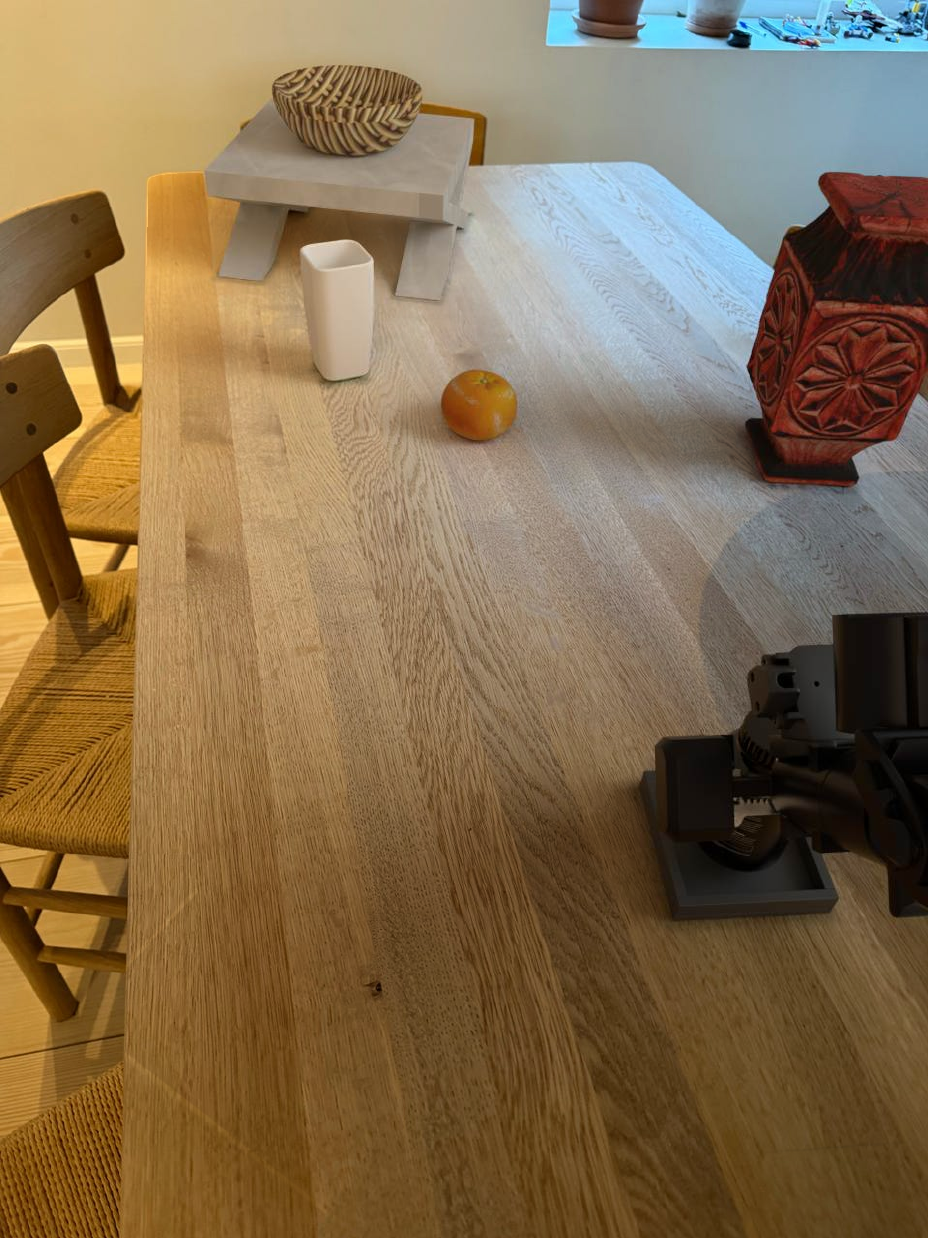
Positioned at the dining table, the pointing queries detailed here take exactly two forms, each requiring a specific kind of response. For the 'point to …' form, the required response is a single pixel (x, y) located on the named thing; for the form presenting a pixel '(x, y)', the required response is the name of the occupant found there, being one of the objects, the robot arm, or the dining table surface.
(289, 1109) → the dining table surface
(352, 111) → the grey stand with bowl
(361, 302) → the cup
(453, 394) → the fruit
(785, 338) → the vase
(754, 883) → the black tray
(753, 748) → the supplement bottle
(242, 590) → the dining table surface
